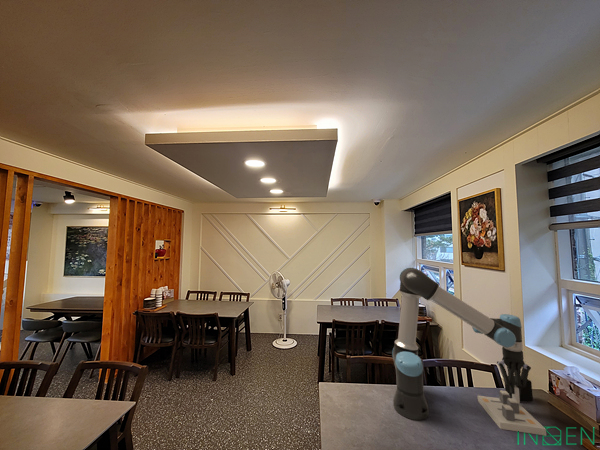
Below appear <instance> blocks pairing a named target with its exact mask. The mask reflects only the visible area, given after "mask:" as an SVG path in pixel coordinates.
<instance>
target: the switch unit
mask: <svg viewBox="0 0 600 450" xmlns="http://www.w3.org/2000/svg"><path fill="white" fill-rule="evenodd" d="M477 401H478V403H479V404H480V406H482V408H483V409H484V411H485V412H486V413H487V414H488V416H490V418H491V419H492V420H493V422H495V425H497V427H498V428H499V429H500V430H507V431H512V432H518V431H519V433H525V434H533V435H538V436H539V435H540V436H545V437H547V429H546V428H545V426H543V425H542V424H541V423H540V422H539V421H538V420H537V419H536V418H535V417H534V416H533V415H532V414H531V413H530V412H528V411H527V410H526V409H525V408H524V407H523V406H522V405H521V404H520V403H518V404H519V413H520V414H519V413H514V415H515V421H511V420H506V419H505V417H504V416H503V415H502V405H507V404H503V403H502V402H501V401H500V397H495V396H494V397H492V396H485V395H484V396H483V395H477Z"/></svg>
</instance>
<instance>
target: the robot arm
mask: <svg viewBox="0 0 600 450" xmlns="http://www.w3.org/2000/svg"><path fill="white" fill-rule="evenodd" d="M399 281H400V283H399V292H400V294H401V305H400V314H399V324H398V336H397V339H395V340H394V344H393V345H394V346H393V348H392V353H391V355H392V359H393V364H394V367H395V375H396V388H395V393H394V396H393V399H392V403H393V404H392V406H393V408H394V410H395V411H396V412H397V413H398V414H400V415H401V416H402V417H405V418H407V419H410V420H414V421H421V420H425V419H427V418H428V417H429V414H430V413H429V412H430V411H429V406H428V403H427V400H426V397H425V394H424V365H423V360H422V359H421V357H420V356H419V355H418V354H419V346H418V345H417V343H416V342H417V332H418V331H417V330H418V321H419V320H418V319H419V310H420V308H419V307H420V306H419V305H420V298H423V299H425V300H426V301H432V302H433V303H435V304H436V305H438V306H439V307H441V308H442V309H444V310H446V311H447V312H449V313H450V314H452V315H454V316H455V317H456V318H458V319H460V320H462V322H464V323H466V324H467V325H469V326H471V328H472V330H473V332H474V333H475V334H481V335H482V334H483V335H484V336H486V337H487V338H489V339H491V340H493V342H494V343H496V344H498V345H499V346H501V347H502V348H501V350H502V359H501V360H500V361H496V364H497V366H498V367H499V370H500V373H501V375H502V379H503V381H504V382H503V383H504V384H505V383H506V384H507V385H509V386H510V392H511V393H512V398H513V399H515V400H516V401H517V403H519V404H520V403H521V402H520V399H519V395H521V389H522V387H526V383H527V379H528V377H529V372H530V370H531V369H532V367H531V366H529V364H526V363H525V361H524V351H523V350H524V347H523V335H522V328H523V326H522V321H521V319H520V317H519V316H516V315H513V314H509V313H506V314H503V313H502V314H500V316H499V318H493V317H492V318H491V317H489V316H487V315H485V314H483V312H481V311H479V310H477V309H475V308H474V307H472V306H471V305H469V303H466V302H465V301H463V300H462V299H460V298H458V297H457V296H456V295H453V294H452V293H450V292H448V291H447V290H446V289H444V288H442V287H441V286H440V283H438V282H436V281H435V280H434V279H432V278H431V277H430V276H428V275H427V274H426V273H424V272H423V271H422V270H419V269H417V268H416V267H407V268H404V269H403V270H402V271H401V272H400V274H399ZM505 366H506V368H505ZM514 377H515V382H514ZM515 385H516V386H515Z"/></svg>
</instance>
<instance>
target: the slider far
mask: <svg viewBox="0 0 600 450" xmlns="http://www.w3.org/2000/svg"><path fill="white" fill-rule="evenodd" d="M498 393H499V394H498V395H499V396H498V398H500V401H501V402H502V403H503V404H507V399H508V398H510V395H509V393H508V392H506V391H505V390H502V389H501V390H499V391H498Z"/></svg>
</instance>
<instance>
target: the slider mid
mask: <svg viewBox="0 0 600 450" xmlns="http://www.w3.org/2000/svg"><path fill="white" fill-rule="evenodd" d="M519 404H520V403H519ZM519 404H518V403H517V401H516V400H515V399H513V398H508V399H507V405H509V406H510V407H511V408H512V409H513V410H514V413H519ZM519 414H520V413H519Z"/></svg>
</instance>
